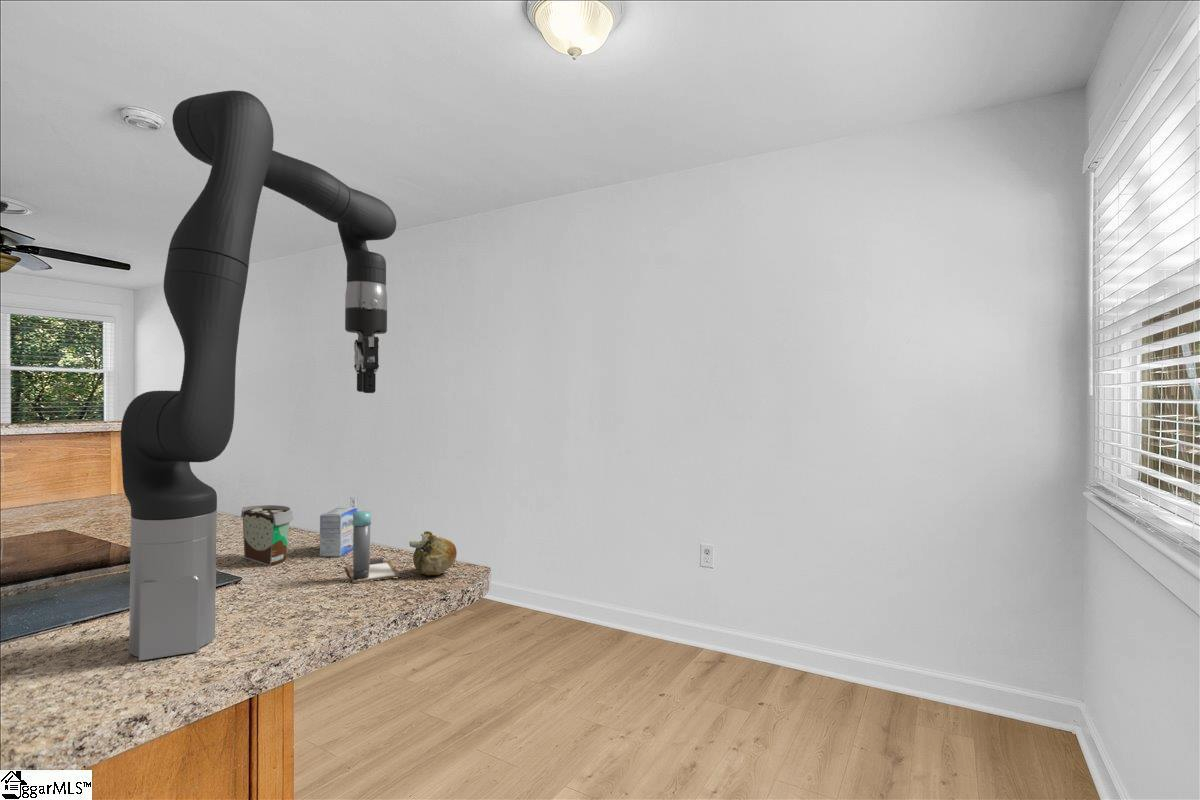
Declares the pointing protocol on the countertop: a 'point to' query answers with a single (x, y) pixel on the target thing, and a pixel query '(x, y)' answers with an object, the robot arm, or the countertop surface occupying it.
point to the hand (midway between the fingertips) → (365, 392)
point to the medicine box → (336, 532)
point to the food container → (266, 533)
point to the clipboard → (376, 570)
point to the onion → (433, 554)
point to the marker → (361, 544)
